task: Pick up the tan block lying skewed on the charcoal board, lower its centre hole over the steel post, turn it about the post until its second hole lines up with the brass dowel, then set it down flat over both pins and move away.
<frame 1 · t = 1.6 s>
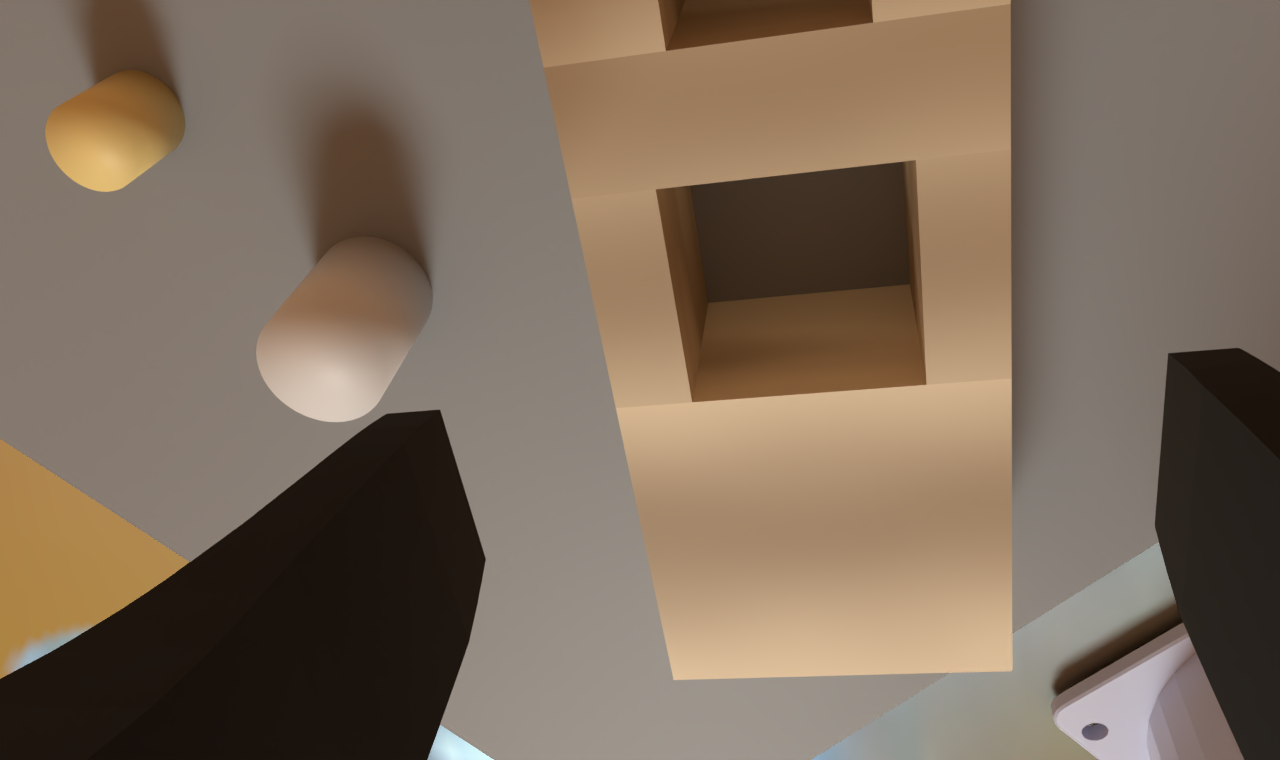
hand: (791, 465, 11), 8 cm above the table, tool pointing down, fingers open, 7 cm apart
board: (590, 210, 19), on the table
tan block: (797, 200, 17), point 1 cm above the table, touching board
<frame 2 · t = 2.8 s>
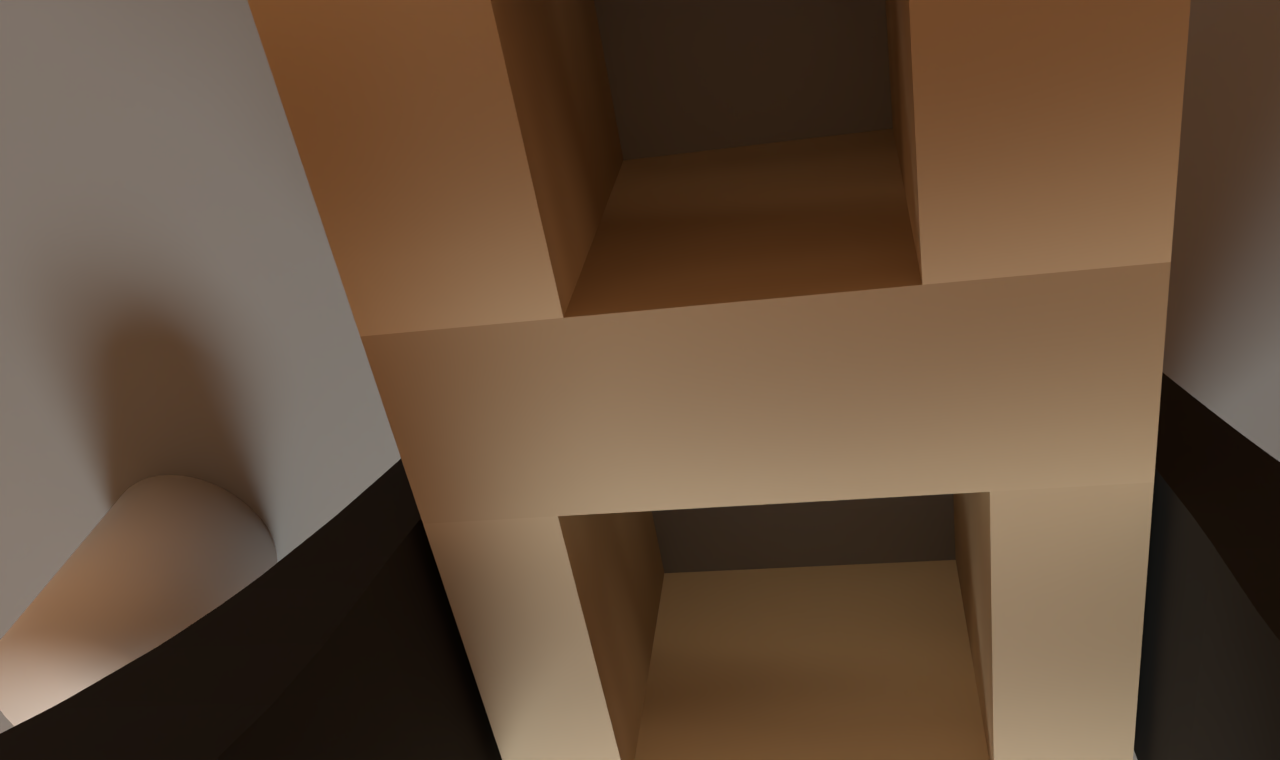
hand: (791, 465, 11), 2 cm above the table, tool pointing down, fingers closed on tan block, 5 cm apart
board: (503, 424, 14), on the table
tan block: (792, 448, 12), point 1 cm above the table, touching board, gripper
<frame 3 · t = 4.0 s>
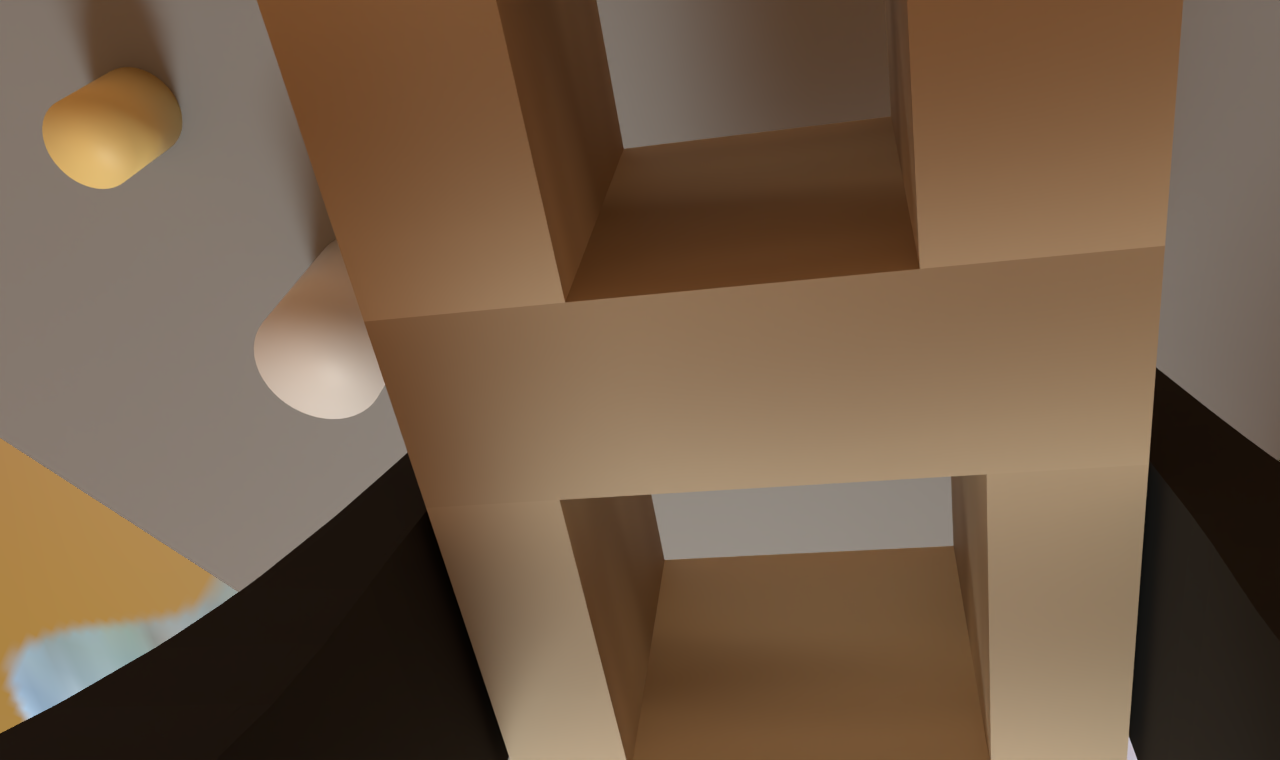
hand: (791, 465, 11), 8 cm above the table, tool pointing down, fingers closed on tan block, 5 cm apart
board: (588, 207, 19), on the table
tan block: (791, 435, 12), point 8 cm above the table, touching gripper
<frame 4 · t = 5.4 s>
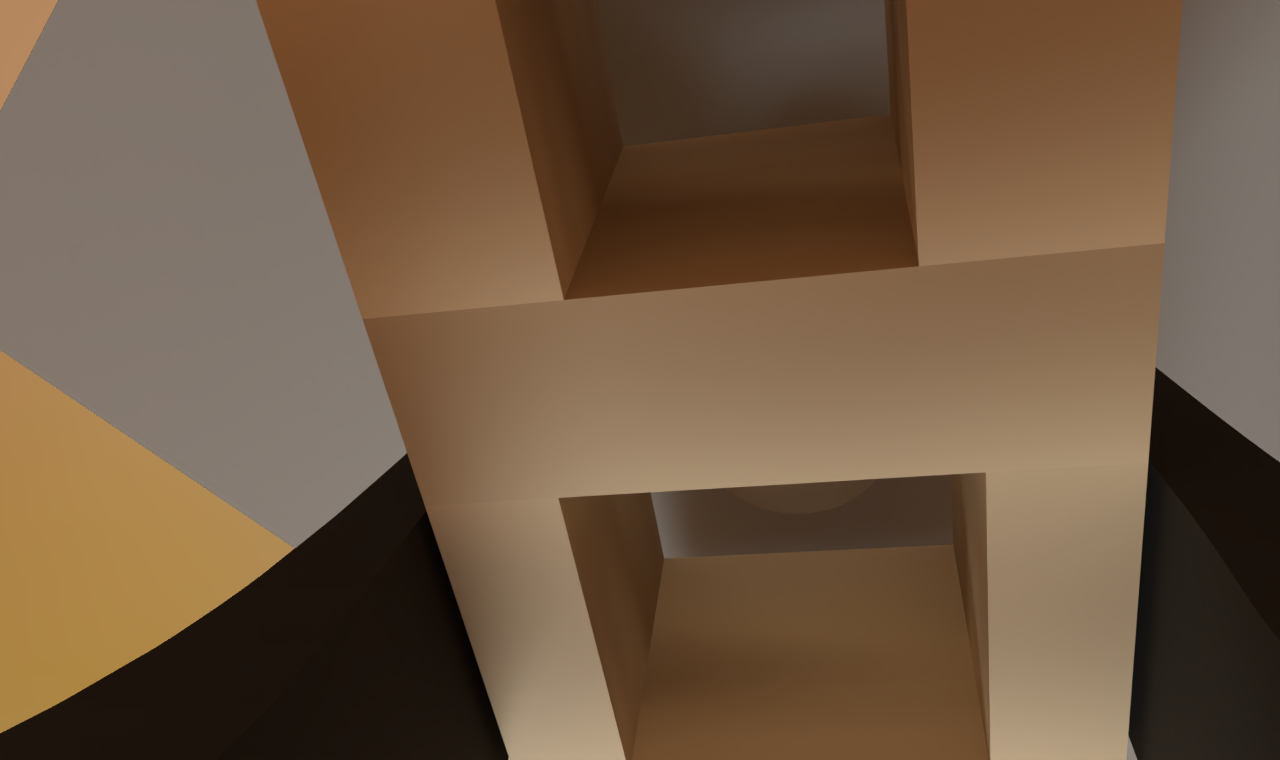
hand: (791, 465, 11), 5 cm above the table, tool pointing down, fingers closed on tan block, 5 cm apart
board: (1078, 215, 14), on the table
tan block: (790, 433, 12), point 4 cm above the table, touching gripper
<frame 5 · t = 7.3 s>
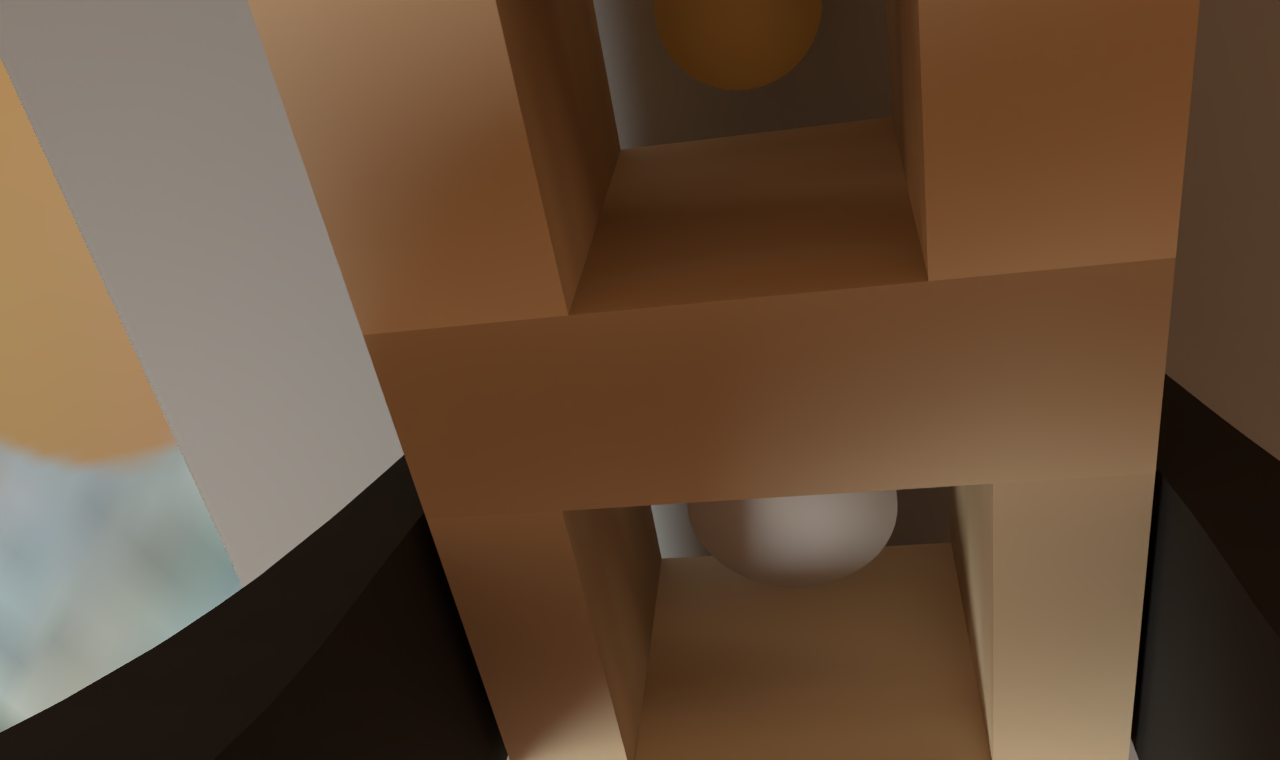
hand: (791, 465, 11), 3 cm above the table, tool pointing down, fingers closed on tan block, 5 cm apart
board: (1043, 425, 15), on the table
tan block: (789, 434, 12), point 3 cm above the table, touching gripper
when the fingers open (2 cm above the table, at t = 8.4 s): tan block stays where it is, resting on board.
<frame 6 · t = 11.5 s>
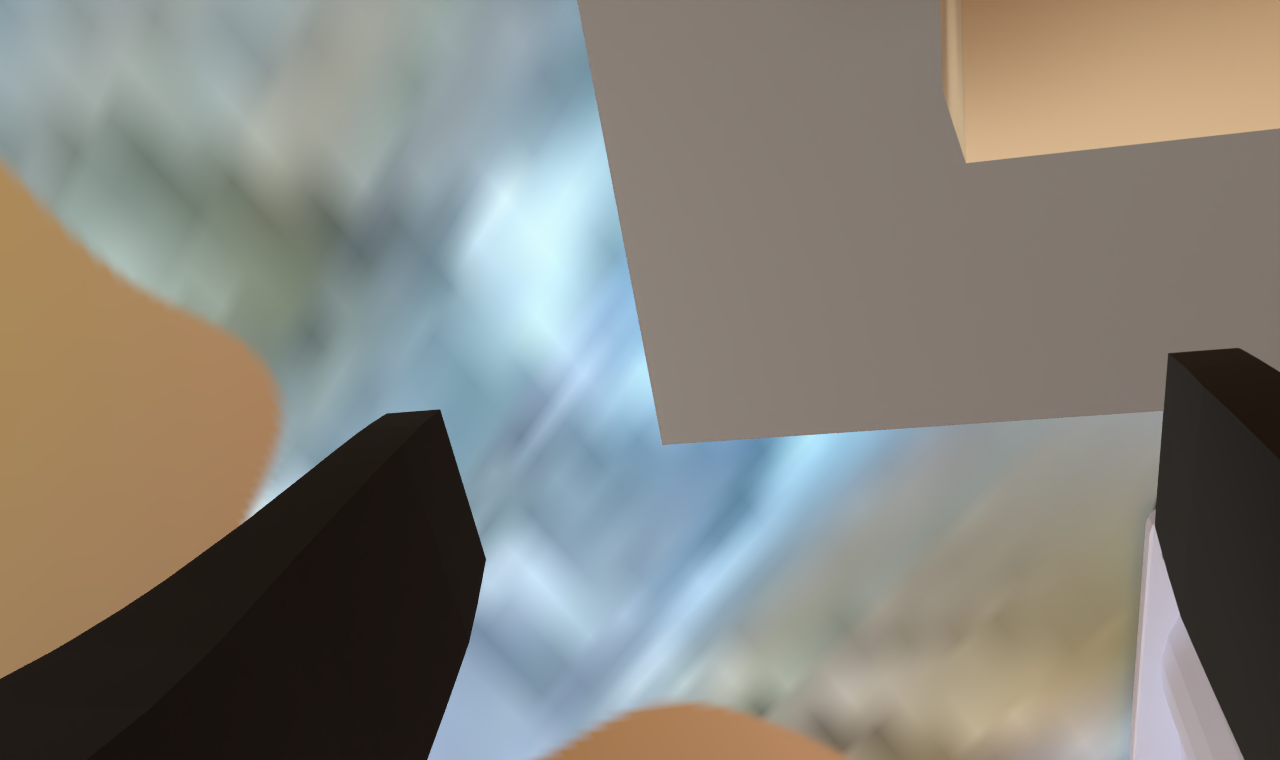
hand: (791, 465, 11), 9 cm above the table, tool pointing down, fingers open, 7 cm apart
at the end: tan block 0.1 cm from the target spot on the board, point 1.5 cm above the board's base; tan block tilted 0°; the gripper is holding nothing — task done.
